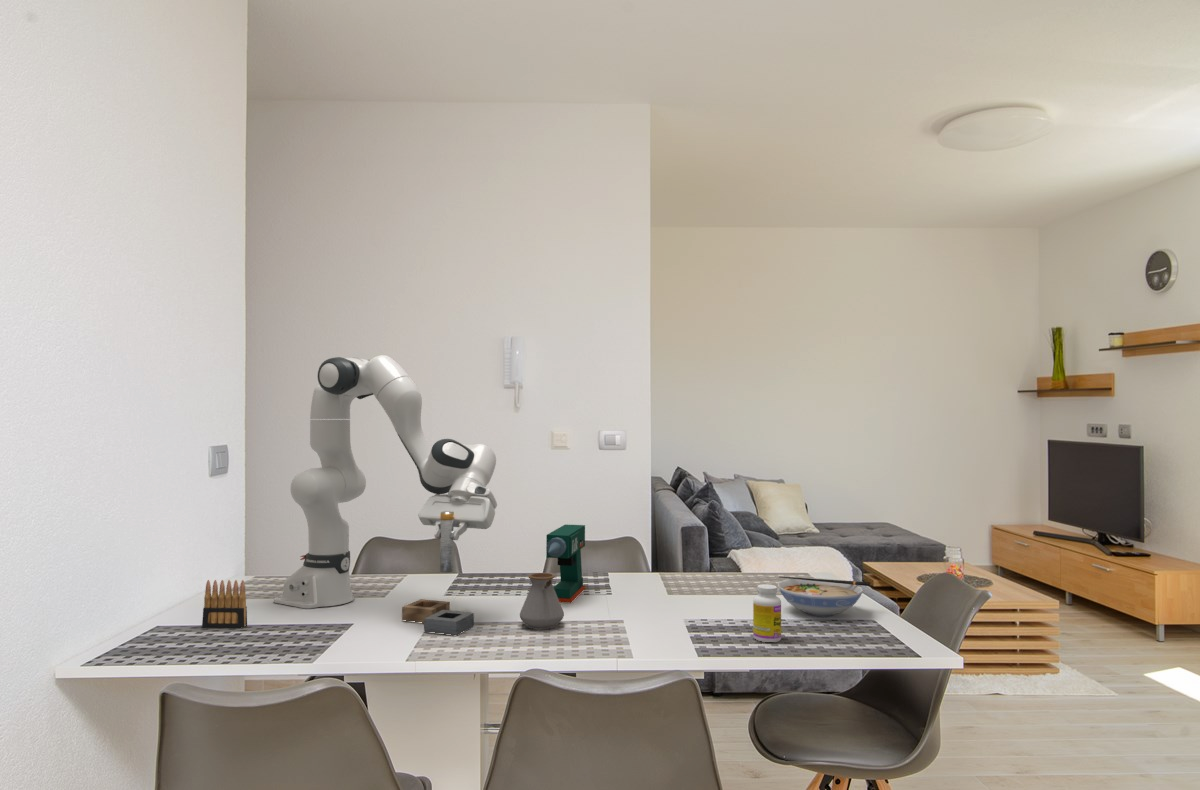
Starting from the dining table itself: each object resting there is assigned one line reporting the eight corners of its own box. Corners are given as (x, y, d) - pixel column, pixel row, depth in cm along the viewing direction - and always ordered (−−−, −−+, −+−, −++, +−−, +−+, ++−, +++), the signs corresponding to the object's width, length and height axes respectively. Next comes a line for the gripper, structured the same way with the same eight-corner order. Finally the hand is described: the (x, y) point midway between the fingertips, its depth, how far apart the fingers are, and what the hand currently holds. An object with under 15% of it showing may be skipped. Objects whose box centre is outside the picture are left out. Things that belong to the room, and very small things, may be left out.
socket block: (424, 632, 187) (424, 618, 187) (442, 623, 196) (443, 609, 196) (456, 636, 184) (456, 621, 185) (473, 626, 193) (473, 612, 193)
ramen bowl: (764, 617, 203) (764, 587, 203) (782, 599, 223) (782, 571, 223) (862, 629, 192) (862, 597, 192) (871, 609, 212) (871, 579, 213)
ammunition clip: (247, 626, 193) (248, 579, 193) (243, 628, 191) (244, 580, 191) (205, 626, 193) (206, 579, 193) (201, 628, 191) (202, 580, 191)
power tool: (561, 615, 205) (561, 541, 205) (536, 613, 206) (536, 540, 207) (586, 589, 236) (587, 525, 237) (565, 587, 237) (565, 524, 238)
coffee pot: (517, 620, 199) (517, 563, 199) (560, 618, 201) (560, 562, 201) (525, 644, 178) (526, 580, 178) (573, 642, 180) (573, 578, 181)
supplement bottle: (775, 645, 178) (775, 590, 178) (749, 640, 182) (749, 587, 182) (785, 638, 184) (784, 585, 184) (759, 634, 187) (758, 582, 188)
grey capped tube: (436, 571, 191) (438, 512, 191) (443, 569, 194) (444, 510, 194) (448, 572, 189) (449, 513, 190) (455, 570, 193) (456, 511, 193)
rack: (402, 621, 197) (402, 606, 198) (420, 613, 206) (420, 599, 206) (432, 624, 195) (432, 609, 195) (449, 615, 203) (449, 601, 203)
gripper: (426, 486, 202) (405, 528, 193) (495, 489, 195) (476, 533, 186) (435, 501, 206) (414, 542, 197) (502, 505, 200) (485, 548, 190)
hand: (445, 538), depth 191 cm, fingers closed on grey capped tube, 3 cm apart
